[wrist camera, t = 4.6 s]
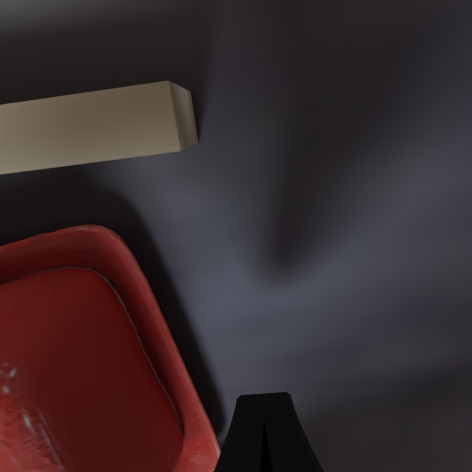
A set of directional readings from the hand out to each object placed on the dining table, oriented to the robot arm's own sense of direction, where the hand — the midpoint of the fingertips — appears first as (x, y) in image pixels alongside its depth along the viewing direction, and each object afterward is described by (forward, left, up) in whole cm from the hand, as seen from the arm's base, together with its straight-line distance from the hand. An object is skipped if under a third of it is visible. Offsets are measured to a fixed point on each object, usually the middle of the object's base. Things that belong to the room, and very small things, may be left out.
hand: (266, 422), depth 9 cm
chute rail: (+8, +6, -4) cm, 11 cm away
